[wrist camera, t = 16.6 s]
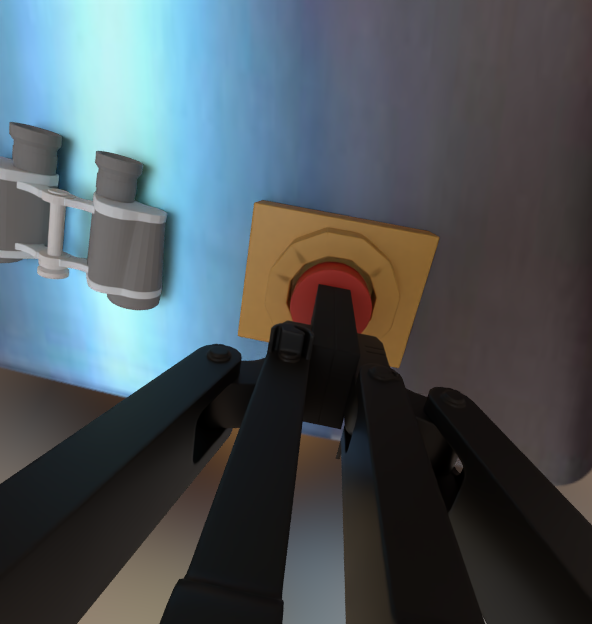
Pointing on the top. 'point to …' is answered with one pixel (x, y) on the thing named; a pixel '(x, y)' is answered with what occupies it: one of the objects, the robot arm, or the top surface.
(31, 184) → the binoculars
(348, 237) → the button block
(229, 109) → the top surface
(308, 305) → the button
